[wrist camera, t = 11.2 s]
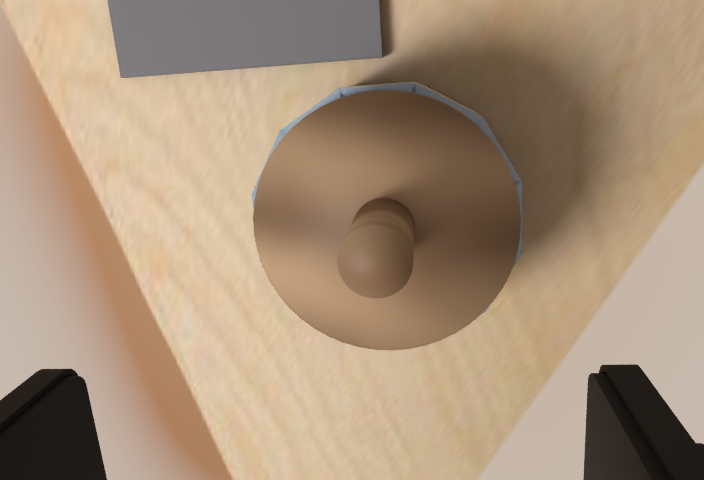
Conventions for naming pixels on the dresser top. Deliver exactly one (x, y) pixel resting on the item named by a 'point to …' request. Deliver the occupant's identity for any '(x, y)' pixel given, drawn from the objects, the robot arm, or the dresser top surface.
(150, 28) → the mat
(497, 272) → the lid
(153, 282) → the dresser top surface
